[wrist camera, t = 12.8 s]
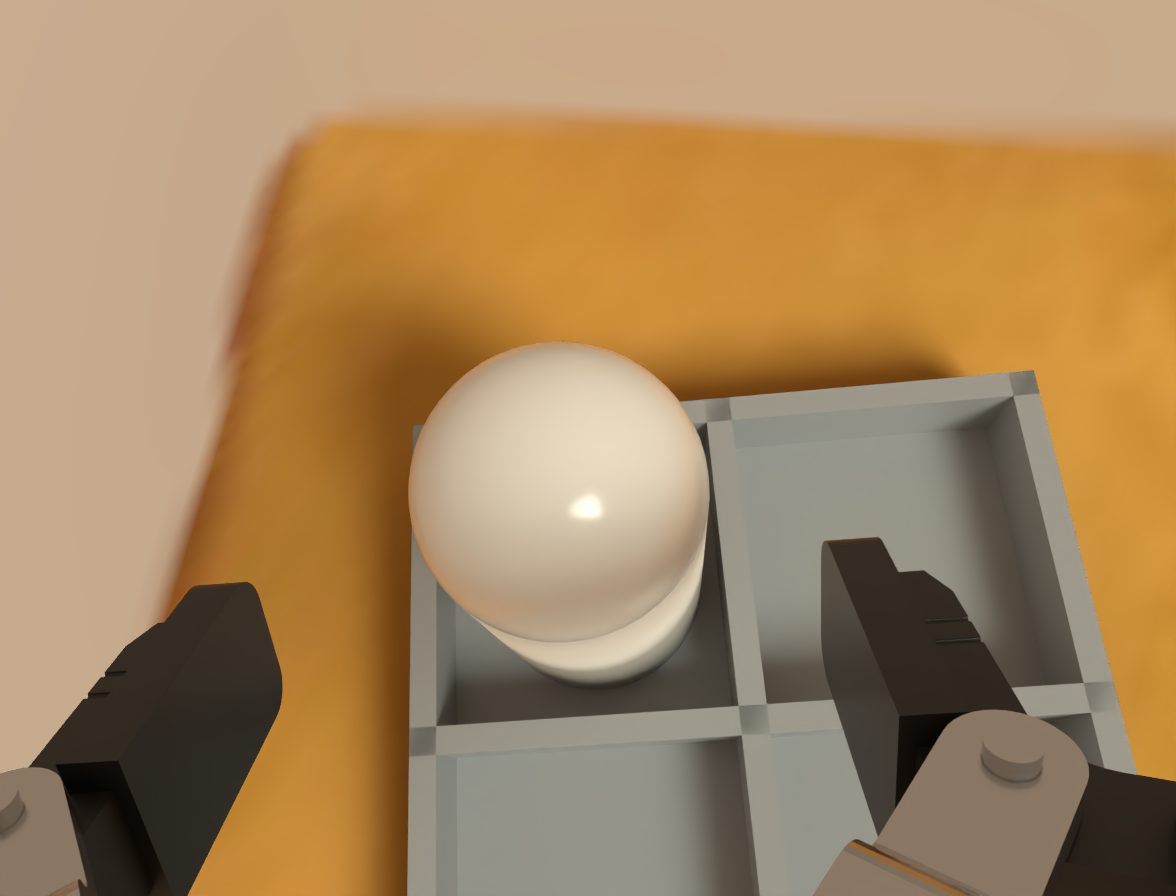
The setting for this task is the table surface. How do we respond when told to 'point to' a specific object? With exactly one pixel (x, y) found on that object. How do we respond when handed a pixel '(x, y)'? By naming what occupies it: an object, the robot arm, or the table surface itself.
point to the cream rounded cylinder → (566, 510)
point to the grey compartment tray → (755, 657)
